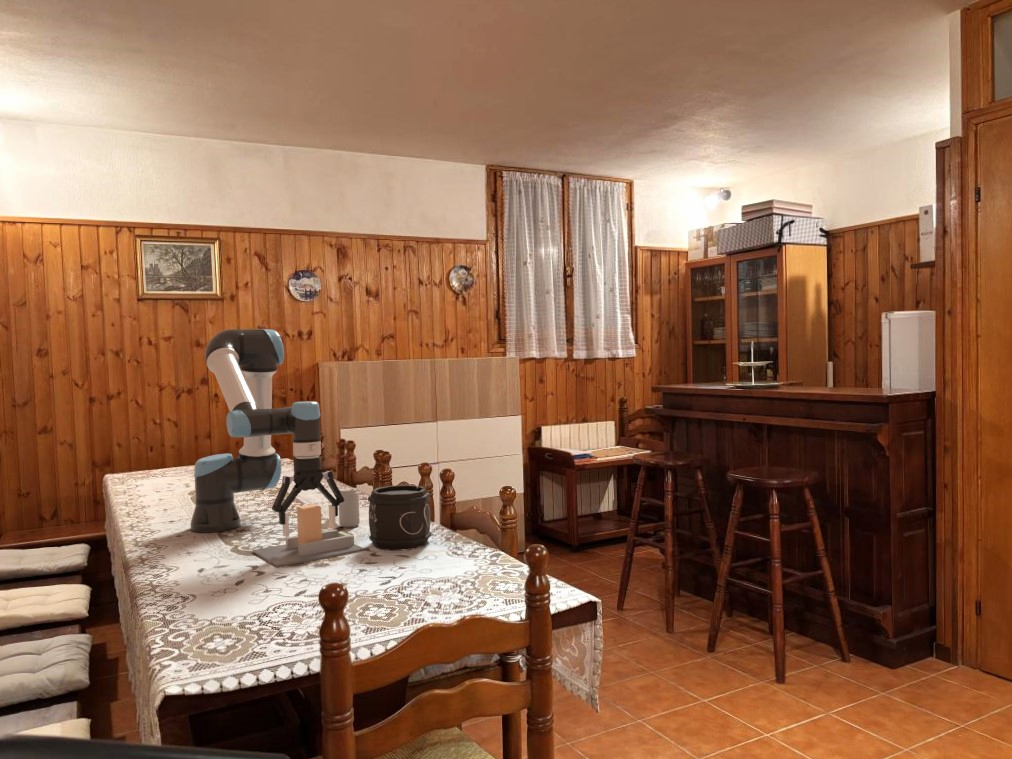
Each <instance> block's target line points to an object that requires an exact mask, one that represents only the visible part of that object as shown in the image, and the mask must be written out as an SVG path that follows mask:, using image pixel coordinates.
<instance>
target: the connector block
mask: <svg viewBox="0 0 1012 759" xmlns="http://www.w3.org/2000/svg"><path fill="white" fill-rule="evenodd" d="M296 516H297V517H296V519H297V520H296V521H297V536H298V544H302V543H307V542H313V541H319V540H322V532H323V531H322V530H323V529H322V507H321V506H320V505H318V504H314V503H313V504H306V505H298V506H296Z"/></svg>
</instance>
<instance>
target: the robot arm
mask: <svg viewBox="0 0 1012 759" xmlns="http://www.w3.org/2000/svg"><path fill="white" fill-rule="evenodd" d="M284 348H285V347H284V343H283V340H282V338H281V336H280V333H278V331H276V330H274V329H268V328H241V329H239V328H236V329H235V328H228V329H225V330H222V331H220V332H218V333H217V334H215V335H214V336H213V337H212V338H211V339H210V340H209V341H208V343H207V344H206V347H205V351H204V360H205V363H206V366H207V368H208V370H209V371H210V372H211V373H213V374H214V375H215V379H216V381H217V383H218V386H219V388H220V390H221V393H222V396H223V398H224V400H225V403H226V405H227V409H228V410H229V412H228V413H227V415H226V421H225V422H226V428H227V429H226V431H227V434H228V435H229V436H230V437H232V438H243V445H242V447H241V448H240V449H239V450H238V456H236V457H234V456H233V455H232V453H226V452H225V453H219V454H218V453H217V454H214V455H208V456H205V457H202V458H199V459H198V460H197V461H195V464H194V469H193V470H194V474H193V477H194V492H195V494H194V495H195V496H194V498H195V499H194V500H195V507H194V509H193V513H192V517H191V520H190V531H191V532H195V533H216V532H217V533H219V532H225V531H229V530H235V529H237V528H238V527H240V526H241V517H240V514H239V512H238V509H237V506H236V504H235V494H237V493H245V492H253V491H265V490H268V489H273V488H275V487H276V486H277V485H278V484H279V482H280V479H281V475H282V467H283V466H282V460H281V459H282V458H281V457H280V454H278V453H276V449H275V448H274V447H273V446H272V436H273V435H275V436H276V435H284V434H285V435H287V434H292V446H293V447H292V450H293V451H292V452H293V453H292V456H293V457H294V459H293V476H287V475H283V476H282V479H281V481H282V482H281V486H280V489H279V490H278V493H277V495H276V498H275V500H274V502H273V504H272V507H271V510H272V511H274V512H277V513H278V519H279V520H278V521H279V522H278V523H279V524H280V525H281V526H282V535H283V536H284V537H285V538H288V537H290V523H289V522H290V520H289V519H290V518H289V512H287V510H288V509H289V508H290V506H291V505H292V503H293V502H294V500H295V499H296V498H297V497H298V496H299V494H300V493H301V492H302V491H303V492H304V491H305V492H306V491H309V490H311V491H313V490H316V489H317V490H318V491H319V492H320V493H321V494H322V495H323V497H325V499H327V501H329V503H331V504H329V505H328V522H329V523H328V524H329V526H328V527H329V528H330V529H331V530H337V529H336V527H337V526H336V525H337V524H336V517H339V504H340V503H341V502H344V498H343V496H342V494H341V493H340V491H339V490H340V489H339V487H338V485H337V483H336V481H335V480H334V474H333V471H329V470H326V471H325V472H322V457H321V456H320V455H321V454H322V447H321V446H322V445H321V444H322V443H321V412H320V410H321V409H320V404H319V403H318V402H317V401H295V402H293V403H292V404H291V406H285V407H278V408H275V407H274V408H273V407H272V405H273V400H272V399H273V375H275V374H276V373H277V372H278V366H281V365H282V364H283V363H284V360H285V349H284ZM323 479H324V480H326V482H327V485H328V486H329V488H330V490H331V492H332V493H333V494H331V493H330V491H328V490H327V489H326V487H325V486H324V485H323V484H322V483H321V481H322V480H323ZM293 482H294V485H293V487H292V489H291V491H290V492H289V493H288V490H289V488H290V485H291V484H293ZM287 493H288V495H287ZM286 495H287V496H286ZM333 495H334V496H333ZM285 497H286V498H285Z"/></svg>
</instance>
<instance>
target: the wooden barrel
mask: <svg viewBox="0 0 1012 759" xmlns="http://www.w3.org/2000/svg"><path fill="white" fill-rule="evenodd" d="M430 498H431V494H430V493H429V492H428V490H427V488H426V487H425V486H424V487H423V486H419V485H414V484H400V485H397V484H396V485H387V486H380V487H376V488H375V489H373V490H372V491H371V494H370V495H369V496H368V498H367V501H368V502H369V504H368V506H369V507H368V527H369V533H370V535H369V537H368V539H369V541H371V543H372V546H373V547H375V548H377V550H378V549H379V550H386V551H403V550H402V549H407V550H413V549H412V548H414V549H418V548H421V547H425V545H426V544H427V543H428V541H429V539H430V537H432V532H431V531H430V530H431V505H430Z"/></svg>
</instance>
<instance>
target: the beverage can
mask: <svg viewBox="0 0 1012 759" xmlns="http://www.w3.org/2000/svg"><path fill="white" fill-rule="evenodd" d="M339 491H340V493H341V494H342V496H343V498H344V502H341V503H340V504H339V506H338V519H339V522H338V523H339V526H341V528H344V529H349V528H351V529H352V528H357V527H358V526H359V525H360V522H361V521H360V498H359V497H360V496H359V495H360V493H359V491H358V488H356V487H346V488H340V489H339Z"/></svg>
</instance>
